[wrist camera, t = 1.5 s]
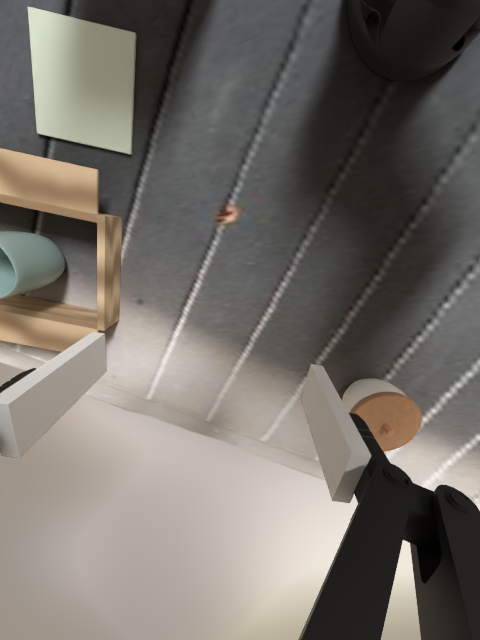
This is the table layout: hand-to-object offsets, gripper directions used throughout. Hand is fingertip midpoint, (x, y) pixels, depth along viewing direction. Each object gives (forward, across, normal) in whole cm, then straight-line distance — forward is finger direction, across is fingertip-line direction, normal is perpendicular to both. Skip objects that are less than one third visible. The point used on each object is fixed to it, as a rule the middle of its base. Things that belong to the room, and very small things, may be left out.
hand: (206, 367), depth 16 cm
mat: (+24, -21, +22) cm, 39 cm away
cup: (+24, -28, 0) cm, 37 cm away
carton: (+24, -28, 0) cm, 37 cm away
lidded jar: (+24, +26, -16) cm, 39 cm away
